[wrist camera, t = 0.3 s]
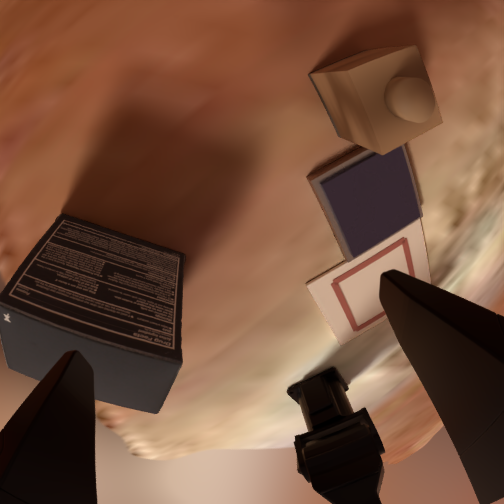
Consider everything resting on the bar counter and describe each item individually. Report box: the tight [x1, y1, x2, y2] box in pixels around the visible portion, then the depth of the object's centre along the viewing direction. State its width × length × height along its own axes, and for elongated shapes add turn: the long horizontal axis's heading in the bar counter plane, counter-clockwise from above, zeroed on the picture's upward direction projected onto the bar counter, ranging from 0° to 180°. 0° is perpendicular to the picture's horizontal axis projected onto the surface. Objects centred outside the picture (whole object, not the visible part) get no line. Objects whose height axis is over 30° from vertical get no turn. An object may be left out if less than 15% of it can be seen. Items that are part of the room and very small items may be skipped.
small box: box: [0, 213, 186, 414], centre depth 18 cm, size 11×6×10 cm, turn 65°
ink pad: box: [307, 144, 423, 263], centre depth 22 cm, size 8×8×1 cm
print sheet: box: [306, 219, 431, 345], centre depth 27 cm, size 10×12×1 cm
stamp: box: [308, 45, 443, 155], centre depth 15 cm, size 5×5×8 cm
